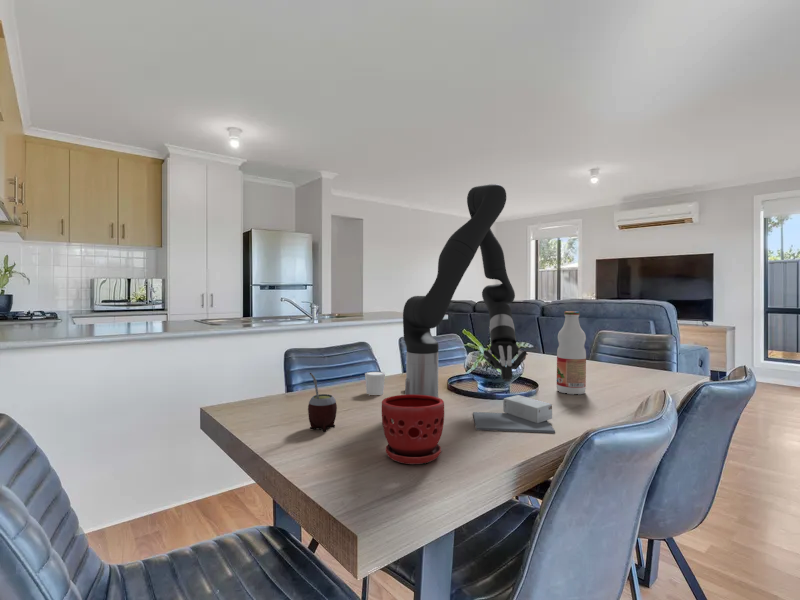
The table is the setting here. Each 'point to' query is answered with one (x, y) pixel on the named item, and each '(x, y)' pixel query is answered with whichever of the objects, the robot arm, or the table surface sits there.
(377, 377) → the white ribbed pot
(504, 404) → the skincare box
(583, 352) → the fruit juice
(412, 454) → the plant pot
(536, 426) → the slate mat
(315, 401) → the mate gourd
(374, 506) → the table surface
